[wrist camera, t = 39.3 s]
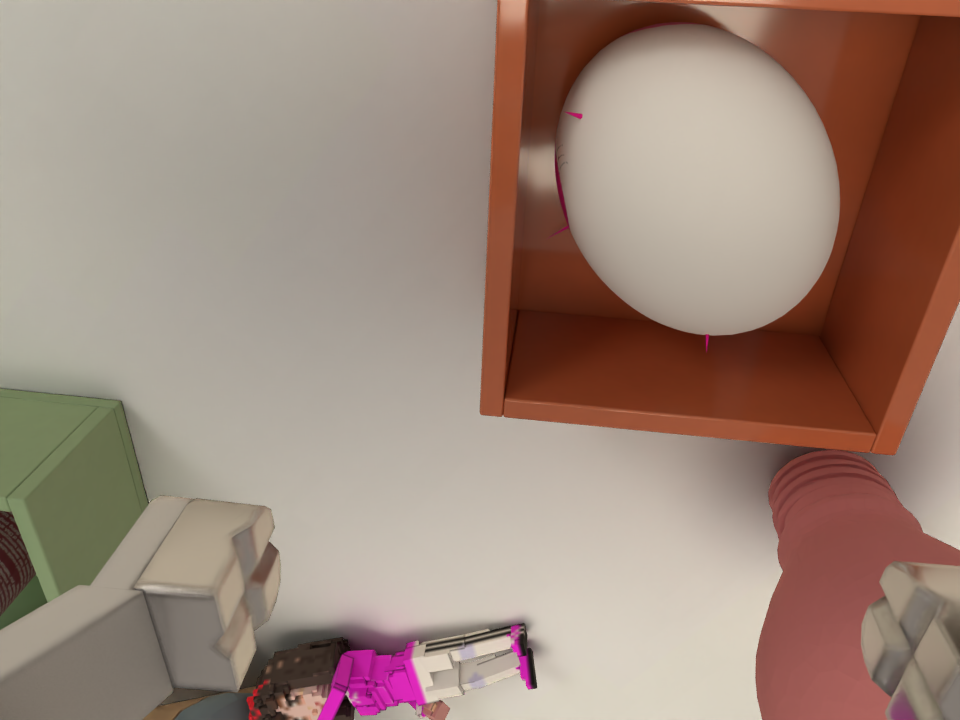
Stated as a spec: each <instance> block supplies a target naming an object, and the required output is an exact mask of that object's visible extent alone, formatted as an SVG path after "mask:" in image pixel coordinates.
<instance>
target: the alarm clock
mask: <svg viewBox="0 0 960 720" xmlns="http://www.w3.org/2000/svg"><path fill="white" fill-rule="evenodd" d="M255 688H256V686H254V687H249V688H244V689H240V690H239V691H238V693H236V692H225V693H220V694H215V695H210V696H206V697H201V698H196V699H191V700H186V701H181V702H176V703H172V704H167V705H162V706H158V707H156V708H155V709H154V710H152V711H151V712H150V713H149V714H148V715H147V716H146V717H145V718H144V719H142V720H249V718H248V717H249V713H250V709H249V706H248V703H247V701H246V700H247V697H251V696H253V690H255Z"/></svg>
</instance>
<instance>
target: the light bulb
mask: <svg viewBox="0 0 960 720" xmlns="http://www.w3.org/2000/svg"><path fill="white" fill-rule="evenodd" d="M768 497H769V505H770V507H771V509H772V512H773V515H772V518H773V523H774V527H775V529H776V531H777V534H778V538H779V544H778V549H777V551H778V559H779V563H780V566H781V568H782V570H783V573H782V575H781V577H780V579H779V582H778V584H777V586H776V589H775V591H774V593H773V596H772V598H771V601H770V604H769V608H768V611H767V614H766V618H765V621H764V624H763V628H762V631H761V635H760V639H759V644H758V649H757V654H756V677H755V678H756V689H757V698H758V703H759V707H760V711H761V716H762V719H763V720H887V717H886V715H885V710H886V708H887V705H888V703H889V701H890V698H891V697H890V696H889V695H887V694H886V693H885V692H884V691H883V690H882V689H881V688H880V687H879V686H878V685H876V684H875V683H874V682H873V681H872V680H871V678H870V675H869V673H868V670H867V667H866V665H865V662H864V658H863V653H862V648H861V627H862V621H863V619H864V616H865V614H866V611H867V608H868V606H869V605H870V604H872V603H874V602H875V601H877V600H878V599H880V598H882V597H883V596H885V593H884V591H883V589H882V587H881V585H880V583H879V581H880V579H881V577H882V574H883V572H884V570H885V568H886V567H887V566H888V565H890V564H891V563H892V562H893V561H902V562H915V563H928V564H940V565H953V566H960V550H958V549H956V548H954V547H952V546H950V545H948V544H946V543H943V542H941V541H939V540H937V539H935V538H933V537H931V536H929V535H927V534H925V533H923V531H922V528H921V526H920V524H919V522H918V521H917V519H916V518H915V517H914V516H913V515H912V513H910V512H909V511H908V510H907V509H905V508H904V507H903V506H902V504H901V503H900V501H899V500H898V498H897V496H896V494H895V493H894V491H893V490H892V488H891V487H890V485H889V483H888V482H887V480H886V479H885V478H884V477H883V476H882V475H880V474H879V472H878V471H877V469H876V468H875V467H874V466H873V465H872V464H871V463H870V462H869V461H867V460H866V459H864V458H863V457H861V456H858V455H856V454H853V453H849V452H846V451H841V450H823V451H815V452H811V453H808V454H805V455H802V456H799V457H797V458H795V459H793V460H791V461H790V462H789V463H787V464H786V465H785V466H784V467H782V468H781V469H780V470H779V471H778V472H777V474H776V475H775V477H774V478H773V480H772V481H771V484H770V488H769V491H768Z"/></svg>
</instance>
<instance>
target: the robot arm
mask: <svg viewBox="0 0 960 720" xmlns="http://www.w3.org/2000/svg"><path fill="white" fill-rule="evenodd" d="M274 528H275V525H274V521H273V516H272V511H271V509H270V508H268V507H266V506H260V505H251V504H242V503H233V502H224V501H215V500H207V499H198V498H196V499H190V498H182V497H173V496H165V495H160V496H159V497H157V498H155V499H154V500H152V501H151V502H150V503H149V504H148V506H147V507H146V508H145V510H144V511H143V512H142V514H141V515H140V517H139V518H138V519H137V521H136V522H135V524H134V525H133V526H132V528H131V529H130V530H129V532H128V533H127V535H126V536H125V537H124V539H123V540H122V542H121V543H120V544H119V546H118V547H117V549H116V550H115V551H114V553H113V554H112V555H111V557H110V558H109V560H108V561H107V562H106V564H105V565H104V567H103V568H102V569H101V571H100V572H99V573H98V575H97V576H96V578H95V579H94V580H93V582H92V583H91V585H90V586H88V585H78V586H76V587H74V588H72V589H71V590H69V591H67V592H65V593H64V594H62V595H60V596H58V597H57V598H55V599H53V600H52V601H50V602H48V603H46V604H45V605H43V606H41V607H39V608H38V609H36V610H34V611H32V612H31V613H29V614H27V615H26V616H24V617H22V618H20V619H19V620H17V621H15V622H13V623H12V624H10V625H8V626H7V627H5V628H3V629H1V630H0V720H142V719H144V718H145V717H146V716H147V715H148V714H149V713H150V712H151V711H152V710H154V709H155V708H156V707H157V706H158V705H159V704H160V703H161V702H163V701H164V700H165V699H166V698H167V697H168V696H169V695H170V694H172V693H173V691H174V690H173V688H185V689H198V690H211V691H223V692H236V693H238V691H239V689H240V686H241V684H242V682H243V679H244V677H245V675H246V672H247V670H248V668H249V665H250V663H251V661H252V658H253V656H254V654H255V651H256V649H257V647H256V642H255V637H254V631H255V630H256V629H257V628H259V627H260V626H261V625H263V624H264V623H265V622H267V621H268V620H269V618H270V616H271V613H272V611H273V608H274V606H275V603H276V600H277V595H278V590H279V585H280V581H281V562H280V555H279V551H278V550H277V549H276V548H275V547H274V546H273V545H272V544H271V543H270V542H269V539H270V537H271V535H272V533H273V530H274ZM879 583H880V585H881V587H882V589H883V591H884V593H885V596H883V597H882V598H880V599H878V600H877V601H875V602H874V603H872V604H870V605H869V606H868V608H867V611H866V614H865V616H864V619H863V621H862V627H861V648H862V653H863V658H864V662H865V665H866V667H867V670H868V673H869V675H870V678H871V680H872V681H873V682H874V683H875V684H876V685H878V686H879V687H880V688H881V689H882V690H883V691H884V692H885V693H886V694H887V695H889V696H890V697H891V698H890V701H889V703H888V705H887V708H886V710H885V715H886V717H887V720H960V566H953V565H940V564H928V563H915V562H902V561H893V562H892V563H891V564H890V565H888V566H887V567H886V568H885V570H884V572H883V574H882V577H881V579H880V581H879Z"/></svg>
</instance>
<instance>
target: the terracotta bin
mask: <svg viewBox="0 0 960 720" xmlns="http://www.w3.org/2000/svg"><path fill="white" fill-rule="evenodd" d="M670 22H687V23H697V24H703V25H708V26H712V27H716V28H720V29H722V30H725V31H728V32H730V33H733V34H735V35H737V36H740V37H742V38H743V39H745V40H747V41H749V42H751V43H752V44H754V45H756V46H757V47H759V48H760V49H762V50H763V51H764V52H766V53H767V54H768V55H770V56H771V57H772V58H773V59H774V60H776V61H777V62H778V63H779V64H780V65H781V66H782V67H783V68H784V69H785V70H786V71H787V72H788V73H789V74H790V75H791V76H792V77H793V78H794V79H795V81H796V82H797V83H798V84H799V85H800V87H801V88H802V89H803V90H804V92H805V93H806V95H807V96H808V98H809V99H810V101H811V102H812V104H813V106H814V107H815V109H816V111H817V113H818V115H819V117H820V119H821V121H822V123H823V125H824V127H825V130H826V132H827V135H828V138H829V140H830V143H831V146H832V149H833V153H834V157H835V160H836V164H837V170H838V177H839V188H840V212H839V223H838V229H837V234H836V238H835V241H834V245H833V249H832V252H831V254H830V257H829V259H828V262H827V264H826V266H825V268H824V270H823V272H822V274H821V275H820V277H819V279H818V280H817V282H816V283H815V284H814V286H813V287H812V288H811V290H810V291H809V292H808V294H807V295H806V296H805V297H804V298H803V299H802V300H801V301H800V302H799V303H798V304H797V305H796V306H795V307H793V308H792V309H791V310H790V311H788V312H787V313H786V314H785V315H783V316H782V317H780V318H778V319H776V320H775V321H773V322H771V323H769V324H767V325H765V326H762V327H760V328H757V329H754V330H751V331H747V332H743V333H738V334H733V335H716V336H712V335H709V340H708V346H707V353H706V335H700V334H694V333H688V332H684V331H680V330H677V329H673V328H671V327H668V326H665V325H663V324H660V323H658V322H656V321H654V320H652V319H650V318H648V317H646V316H645V315H643V314H641V313H640V312H638V311H637V310H635V309H634V308H632V307H631V306H629V305H628V304H627V303H625V302H624V301H623V300H622V299H621V298H619V297H618V296H617V295H616V294H615V293H614V292H613V291H612V290H611V289H610V288H609V287H608V286H607V285H606V284H605V283H604V282H603V281H602V280H601V279H600V278H599V276H598V275H597V274H596V273H595V271H594V270H593V269H592V268H591V266H590V265H589V263H588V262H587V260H586V259H585V257H584V256H583V254H582V253H581V251H580V249H579V247H578V245H577V244H576V242H575V240H574V238H573V236H572V234H571V231H570V229H569V228H568V229H566V230H564V231H562V232H560V233H558V234H556V235H554V236H552V235H553V234H555V233H557V232H558V231H560V230H561V229H563V228H564V227H566V226H568V224H567V222H566V219H565V216H564V213H563V210H562V206H561V203H560V199H559V194H558V189H557V183H556V176H555V141H556V133H557V127H558V123H559V119H560V114H561V111H562V109H563V106H564V103H565V100H566V98H567V95H568V93H569V91H570V89H571V87H572V85H573V84H574V82H575V80H576V79H577V77H578V76H579V74H580V73H581V71H582V70H583V68H584V67H585V66H586V65H587V64H588V63H589V62H590V61H591V60H592V59H593V58H594V57H595V56H596V54H597V53H598V52H599V51H600V50H602V49H603V48H605V47H606V46H607V45H609V44H610V43H612V42H613V41H615V40H616V39H618V38H619V37H621V36H623V35H625V34H627V33H629V32H632V31H634V30H636V29H640V28H643V27H647V26H651V25H655V24H660V23H670ZM550 236H552V237H550ZM549 237H550V238H549ZM547 238H548V239H547ZM959 301H960V0H497V21H496V44H495V68H494V91H493V114H492V137H491V160H490V184H489V207H488V230H487V253H486V277H485V300H484V323H483V346H482V369H481V393H480V414H481V415H487V416H497V417H502V415H504V417H508V418H518V419H528V420H538V421H548V422H559V423H569V424H579V425H589V426H599V427H609V428H620V429H630V430H640V431H650V432H660V433H671V434H681V435H691V436H701V437H711V438H722V439H732V440H742V441H752V442H762V443H772V444H783V445H793V446H803V447H813V448H823V449H834V450H844V451H854V452H864V453H869V452H871V453H874V454H885V455H895V454H896V452H897V450H898V448H899V445H900V443H901V440H902V438H903V436H904V433H905V431H906V428H907V426H908V424H909V421H910V419H911V416H912V414H913V412H914V409H915V407H916V404H917V402H918V400H919V397H920V395H921V392H922V390H923V388H924V385H925V383H926V380H927V378H928V376H929V373H930V371H931V368H932V366H933V364H934V361H935V359H936V356H937V354H938V352H939V349H940V347H941V344H942V342H943V340H944V337H945V335H946V332H947V330H948V328H949V325H950V323H951V320H952V318H953V316H954V313H955V311H956V308H957V306H958V304H959Z"/></svg>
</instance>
